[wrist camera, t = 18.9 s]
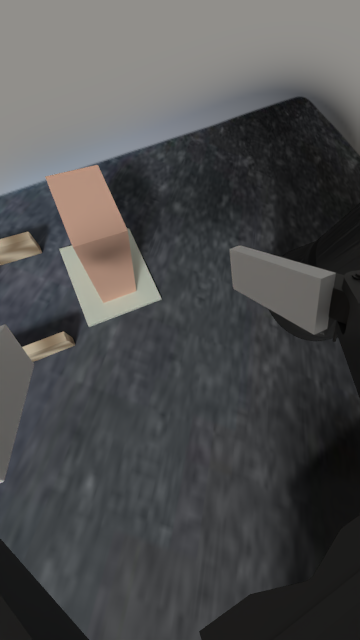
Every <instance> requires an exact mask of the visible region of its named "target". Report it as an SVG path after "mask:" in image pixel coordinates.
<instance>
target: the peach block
mask: <svg viewBox="0 0 360 640" xmlns="http://www.w3.org/2000/svg"><path fill="white" fill-rule="evenodd" d="M46 180H47V183H48V185H49V188H50V190H51V193H52V195H53V198H54V200H55V203H56V205H57V208H58V211H59V213H60V216H61V218H62V221H63V223H64V226H65V228H66V231H67V234H68V236H69V239H70V241H71V244H72V246H73V248H74V250H75V252H76V254H77V256H78V258H79V259H80V261H81V263H82V265H83V267H84V268H85V270H86V272H87V274H88V276H89V278H90V279H91V281H92V283H93V285H94V287H95V289H96V290H97V292H98V294H99V296H100V298H101V299H102V301H103V303H105V302H108V301H111V300H113V299H116V298H119V297H122V296H124V295H127V294H130V293H133V292H135V291H136V285H135V278H134V271H133V264H132V257H131V250H130V242H129V235H128V230H127V228H126V226H125V223H124V221H123V219H122V217H121V215H120V212H119V210H118V208H117V206H116V204H115V201H114V199H113V197H112V195H111V193H110V191H109V188H108V186H107V184H106V182H105V180H104V177H103V175H102V173H101V171H100V169H99V167H98V165H95V166H90V167H86V168H81V169H77V170H73V171H68V172H64V173H59V174H55V175H50V176H46Z"/></svg>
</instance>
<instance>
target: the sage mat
mask: <svg viewBox="0 0 360 640" xmlns="http://www.w3.org/2000/svg"><path fill="white" fill-rule="evenodd" d="M127 230H128V235H129V242H130V250H131V257H132V264H133V271H134V278H135V285H136V291H135V292H133V293H130V294H127V295H124V296H122V297H119V298H116V299H113V300H111V301H108V302H105V303H103V301H102V299H101V298H100V296H99V294H98V292H97V290H96V289H95V287H94V285H93V283H92V281H91V279H90V278H89V276H88V274H87V272H86V270H85V268H84V267H83V265H82V263H81V261H80V259H79V258H78V256H77V254H76V252H75V250H74V248H73V246H72V245H71V246H68V247H65V248H61V249H59V250H60V252H61V255H62V257H63V260H64V263H65V265H66V268H67V271H68V273H69V276H70V279H71V281H72V284H73V287H74V289H75V292H76V295H77V297H78V300H79V303H80V305H81V308H82V310H83V313H84V316H85V318H86V321H87V324H88V326H89V327H91V326H93V325H96V324H99V323H101V322H104V321H107V320H109V319H112V318H114V317H117V316H120V315H122V314H125V313H127V312H130V311H133V310H135V309H138V308H140V307H143V306H146V305H148V304H151V303H153V302H156V301H159V300H161V297H160V294H159V292H158V290H157V288H156V286H155V284H154V281H153V279H152V277H151V275H150V273H149V271H148V268H147V266H146V264H145V262H144V260H143V257H142V255H141V253H140V251H139V249H138V247H137V244H136V242H135V240H134V238H133V236H132V234H131V231H130V229H129V228H128V229H127Z"/></svg>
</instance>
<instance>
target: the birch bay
mask: <svg viewBox="0 0 360 640" xmlns="http://www.w3.org/2000/svg"><path fill="white" fill-rule="evenodd" d="M40 253H42V251H41V248H40V246H39V244H38V243H37V242H36V241H35V239H34V238H33V237H32V235H31V234H30V233H29V232H25V233H21V234H17V235H14V236H10V237H6V238H3V239H0V265H3V264H7V263H10V262H13V261H17V260H20V259H23V258H27V257H30V256H33V255H37V254H40ZM72 346H75V343H74V340H73V337H71V336H70V335H68V334H67V333H65V332H64V331H63V332H61V333H58V334H55V335H53V336H50V337H47V338H45V339H42V340H39V341H37V342H34V343H31V344H29V345H26V346H24V347H22V348H23V349H24V351H25V352H26V354H27V355H28V356H29V358H30V359H31V360H32V362H34V361H37V360H39V359H42V358H44V357H47V356H49V355H52V354H54V353H57V352H59V351H62V350H64V349H67V348H69V347H72Z"/></svg>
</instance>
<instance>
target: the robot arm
mask: <svg viewBox="0 0 360 640" xmlns="http://www.w3.org/2000/svg"><path fill="white" fill-rule="evenodd" d="M230 260H231V270H232V281H233V289H235V290H237V291H238V292H240V293H242V294H244V295H245V296H247V297H249V298H251V299H252V300H254V301H256V302H258V303H259V304H261V305H263V306H265V307H266V308H268V309H269V311H270V313H271V314H272V316H273V317H274V319H275V320H276V321H277V322H278V323H279V325H281V326H282V327H283V328H284V329H285V330H286V331H288V332H289V333H291V334H293V335H294V336H296V337H299V338H301V339H305V340H309V341H323V340H328V339H331V338H333V341H334V342H336V338H337V337H338V338H339V340H340V343H341V346H342V349H343V352H344V355H345V358H346V360H347V363H348V366H349V369H350V372H351V375H352V378H353V380H354V383H355V386H356V389H357V392H358V395H359V398H360V204H359V205H357V206H356V207H355V208H354V209H353V210H352V211H350V212H349V213H348V214H347V215H346V216H345V217H343V218H342V219H341V220H340V221H339V222H338V223H336V224H335V225H334V226H333V227H332V228H331V229H329V230H328V231H327V232H326V233H325V234H324V235H323V236H322V237H320V238H319V239H318V240H317V241H315V242H313V243H310V244H308V245H305V246H303V247H300V248H298V249H295V250H293V251H290V252H288V253H287V254H285V255H284V256H282V257H279V256H275V255H272V254H268V253H265V252H261V251H258V250H254V249H251V248H247V247H243V246H237V247H234V248H231V249H230ZM33 367H34V363H33V362H32V360H31V359H30V358H29V356H28V355H27V354H26V352H25V351H24V349H23V348H22V347H21V345H20V344H19V342H18V341H17V340H16V338H15V337H14V335H13V334H12V333H11V331H10V330H9V329H8V327H7V326H6V324H5V325H2V326H0V483H2V482H4V480H5V476H6V472H7V468H8V464H9V460H10V456H11V453H12V449H13V445H14V441H15V437H16V433H17V429H18V425H19V422H20V418H21V414H22V410H23V406H24V402H25V398H26V394H27V390H28V387H29V383H30V379H31V375H32V371H33ZM199 632H200V636H201V639H202V640H360V515H359V516H358V517H356V518H355V519H353V520H352V521H351V522H349V523H348V524H347V525H345V526H344V527H342V528H341V529H340V531H339V533H338V534H337V536H336V538H335V540H334V541H333V543H332V545H331V546H330V548H329V550H328V551H327V553H326V555H325V557H324V558H323V560H322V562H321V563H320V565H319V567H318V569H317V570H316V572H315V574H314V575H313V576H312V578H310V579H309V580H307V581H305V582H301V583H296V584H292V585H288V586H284V587H279V588H275V589H271V590H267V591H262V592H258V593H254V594H250V595H249V596H247V597H246V598H245V599H243V600H242V601H240V602H239V603H238V604H236V605H235V606H234V607H232V608H231V609H229V610H228V611H227V612H225V613H224V614H223V615H221V616H220V617H218V618H217V619H216V620H214V621H213V622H212V623H210V624H209V625H207V626H206V627H205V628H203V629H202V630H201V631H199ZM0 640H89V639H88V638H87V637H86V636H85V635H84V633H83V632H82V631H81V630H80V629H79V628H78V627H77V625H76V624H75V623H74V622H73V621H72V620H71V619H70V618H69V616H68V615H67V614H66V613H65V612H64V611H63V610H62V608H61V607H60V606H59V605H58V604H57V603H56V602H55V600H54V599H53V598H52V597H51V596H50V595H49V594H48V592H47V591H46V590H45V589H44V588H43V587H42V586H41V584H40V583H39V582H38V581H37V580H36V579H35V578H34V577H33V575H32V574H31V573H30V572H29V571H28V570H27V569H26V567H25V566H24V565H23V564H22V563H21V562H20V561H19V559H18V558H17V557H16V556H15V555H14V554H13V553H12V551H11V550H10V549H9V548H8V547H7V546H6V545H5V544H4V542H3V541H2V540H1V539H0Z"/></svg>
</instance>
